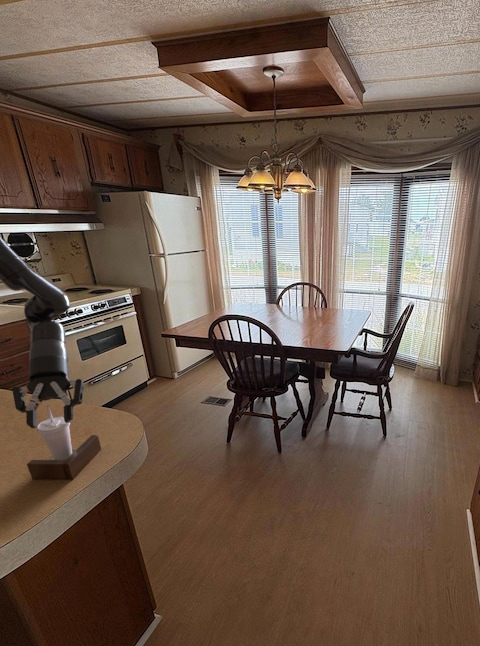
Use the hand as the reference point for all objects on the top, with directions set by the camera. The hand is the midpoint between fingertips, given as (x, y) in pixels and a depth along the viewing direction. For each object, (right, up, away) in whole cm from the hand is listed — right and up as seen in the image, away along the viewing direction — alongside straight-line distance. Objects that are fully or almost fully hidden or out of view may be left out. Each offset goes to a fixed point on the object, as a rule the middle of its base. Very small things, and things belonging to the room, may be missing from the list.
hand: (50, 424), depth 81 cm
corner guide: (0, -11, +4) cm, 12 cm away
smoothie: (-1, -9, +5) cm, 11 cm away
